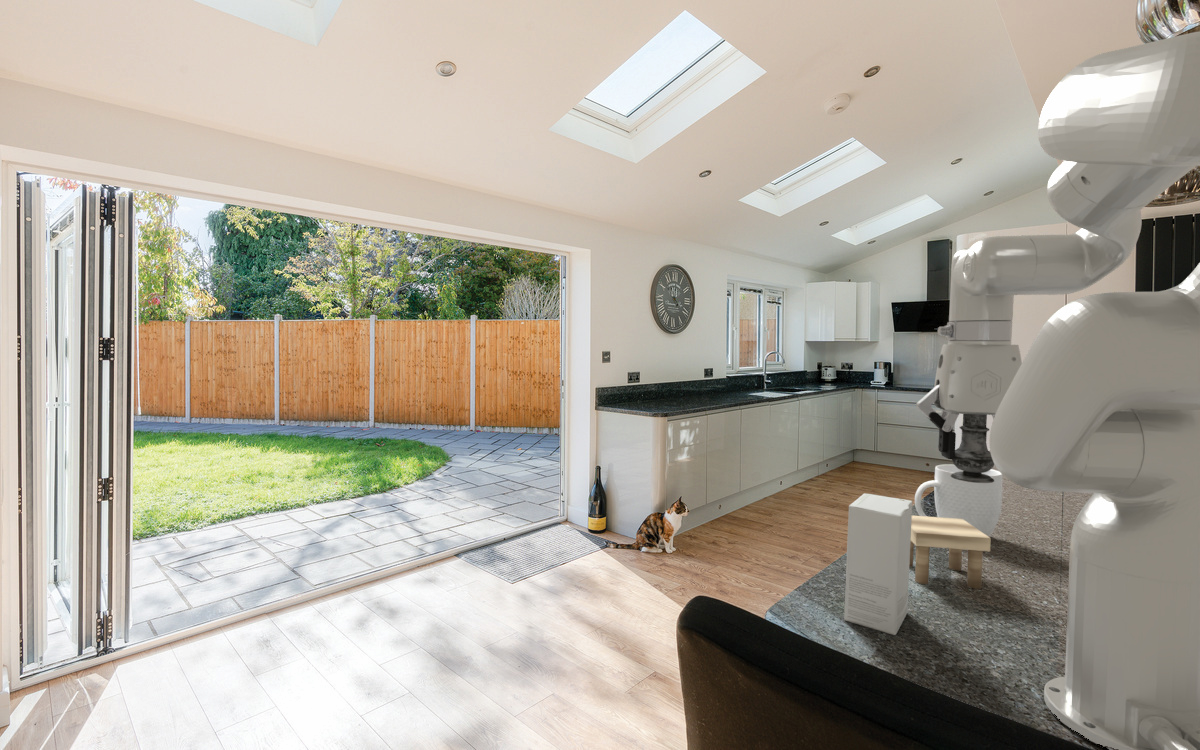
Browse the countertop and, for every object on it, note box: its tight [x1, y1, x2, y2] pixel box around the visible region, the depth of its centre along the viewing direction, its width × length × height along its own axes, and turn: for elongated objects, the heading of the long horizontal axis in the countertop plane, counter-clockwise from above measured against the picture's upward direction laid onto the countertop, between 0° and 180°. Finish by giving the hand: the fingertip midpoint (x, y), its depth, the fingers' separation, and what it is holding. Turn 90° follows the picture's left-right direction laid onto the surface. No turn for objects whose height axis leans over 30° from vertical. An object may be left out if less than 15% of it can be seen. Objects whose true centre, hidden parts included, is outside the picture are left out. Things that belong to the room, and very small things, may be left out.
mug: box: [914, 463, 1004, 537], centre depth 108 cm, size 15×11×13 cm
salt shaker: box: [951, 414, 995, 483], centre depth 80 cm, size 6×6×12 cm
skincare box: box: [843, 493, 913, 636], centre depth 73 cm, size 8×7×16 cm
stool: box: [909, 515, 992, 590], centre depth 88 cm, size 10×10×8 cm
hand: (972, 457), depth 80 cm, fingers closed on salt shaker, 5 cm apart
